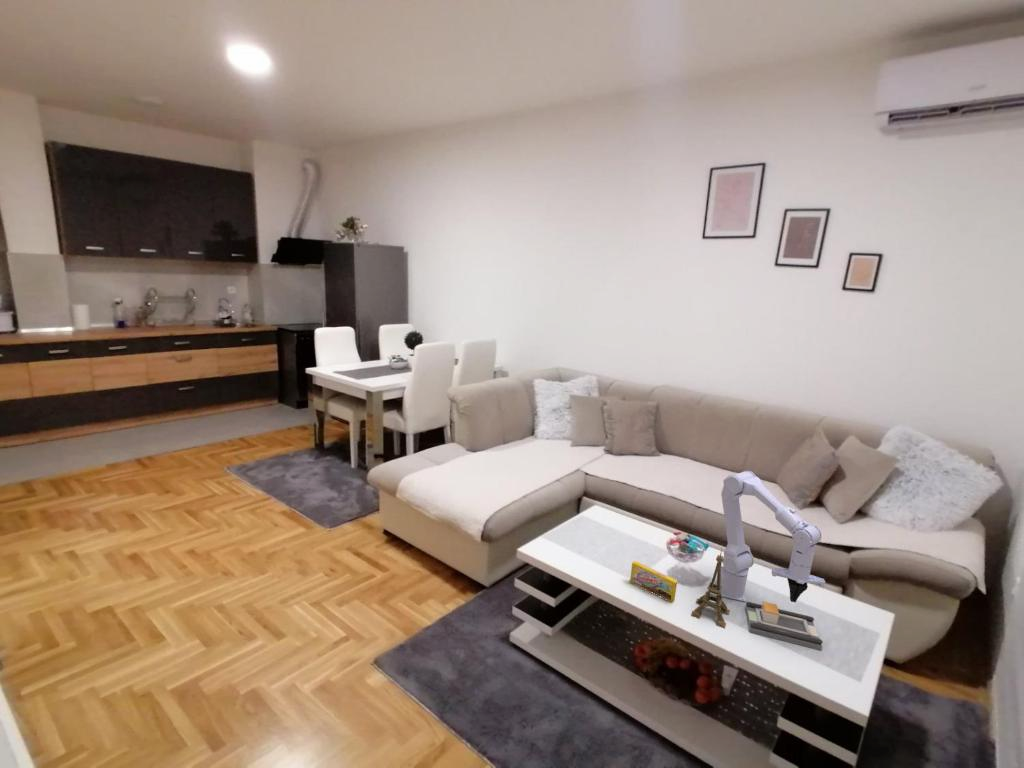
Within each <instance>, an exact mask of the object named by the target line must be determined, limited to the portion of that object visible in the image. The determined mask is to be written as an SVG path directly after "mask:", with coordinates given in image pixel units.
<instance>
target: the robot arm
mask: <svg viewBox="0 0 1024 768" xmlns="http://www.w3.org/2000/svg"><path fill="white" fill-rule="evenodd" d="M744 495H745V496H753V497H755V498H756V499H758V500H759V501H760V502H761V503H762V504H764V505H765V506H766V507H767V508H768V509H769V510H770V511H772V512H773V513H774V516H775V520H776V521H778V523H779V524H780V525H782V527H784V528H785V530H787V531H788V532H789V533H790V535H791V536H792V541H793V548H792V553H791V557H790V562H789V565H788V568H782V567H781V568H778V567H772V569H771V576H772V577H780V578H783V579H785V578H786V579H787V583H788V587H789V588H788V589H789V601H790V602H791V603H796V602H797V600H799V597H800V596H801V595H802V593H804V592H805V591H806V590H807V589H808V584H811V585H816V586H819V587H820V588H825V585H826V580H825V578H822V577H819V576H815V575H812V574H811V570H812V565H813V562H814V561H813V560H814V556H815V551H816V548H817V544H818V543H819V542H820V541H821V539H822V532H821V531H820V529H819V528H818V527H817V525H815V524H813V523H808V521H806V520H804V519H803V518H802V517H801V516H800V515H799V514H798V513H797V512H796V510H795V508H793V507H792V508H791V507H790V506H785V505H783V504H782V503H781V502H780V501H779V500H778V499H777V498H776V497H775V496H774V495H773V494H772V493H771V491H769V490H768V488H767V487H766V486H765V485H763V483H762V481H761V479H760V477H758V476H756V474H755V473H754V472H753V471H750V470H744V471H742V472H738V473H735V474H729V475H728V476H726V477H725V478H724V479H723V487H722V490H721V503H722V508H723V510H722V511H723V516H724V524H725V530H726V531H725V533H726V539H727V545H726V547H725V548H724V550H723V559H724V561H723V562H722V565H723V566H722V565H721V585H720V586H722V591H721V597H723V598H726V599H727V598H728V599H732V600H736V601H740V602H747V598H746V593H745V590H746V585H747V579H748V574H749V571H750V568H752V567H753V565H754V564H755V559H754V556H753V554H752V552H751V548H750V546H749V545H747V544H746V542H745V535H744V528H743V521H742V513H741V512H742V511H741V503H740V498H741V497H742V496H744ZM714 584H716V585H717V577H716V579H715V582H714Z"/></svg>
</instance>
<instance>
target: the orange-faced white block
mask: <svg viewBox="0 0 1024 768" xmlns="http://www.w3.org/2000/svg"><path fill="white" fill-rule="evenodd" d="M761 605H762V609H761V617H762V622H766V623H770V624H775V625H777V622H778V617H779V612H778V609H779V608H778V605H777V604H776V603H772V602H768V601H764V600H763V601H762V604H761Z"/></svg>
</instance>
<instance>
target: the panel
mask: <svg viewBox="0 0 1024 768" xmlns="http://www.w3.org/2000/svg"><path fill="white" fill-rule="evenodd" d="M744 608H745V609H744V610H745V614H746V619H747V624H748V625H747V626H748V629H749V633H750V634H754V635H758V636H763V637H767V638H770V639H775V640H779V641H782V642H786V643H791V644H794V645H798V646H802V647H807V648H810V649H814V650H818V651H822V648H823V645H822V644H823V643H824V642H823V640H822V639H820V637H819V634H818V631H817V629H816V627H815V623H814V622H815V618H814V616H809V615H804V614H802V613H798V612H794V611H788V610H785V609H780V608H778V612H779V617H778V622H777V625H775V624H770V623H766V622H762V617H761V609H762V604H759V603H755V602H751V601H746V603H745V606H744Z"/></svg>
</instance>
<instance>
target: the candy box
mask: <svg viewBox="0 0 1024 768" xmlns="http://www.w3.org/2000/svg"><path fill="white" fill-rule="evenodd" d="M629 582H630V583H632V584H633V585H635V584H636V585H635V586H637V585H638V586H637V587H639V586H640V587H639V588H641V587H642V588H641V589H643V588H644V589H643V590H645V589H646V590H645V591H647V590H648V591H647V592H649V591H651V592H653V593H655V594H657V595H659V596H661V597H662V598H661V597H660V598H661V599H663V598H664V600H665V599H667V600H669V601H671V602H673V603H674V602H675V600H676V592H677V585H678V579H675V578H673V577H671V576H668V575H666V574H664V573H663V572H660V571H658V570H656V569H654V568H652V567H650V566H647V565H645V564H642V563H641V562H639V561H637V560H634V561H632V562H631V569H630V579H629ZM651 592H650V593H651ZM653 593H652V594H653ZM655 594H654V595H655ZM657 595H656V596H657ZM659 596H658V597H659ZM667 600H666V601H667ZM669 601H668V602H669ZM671 602H670V603H671Z"/></svg>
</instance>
